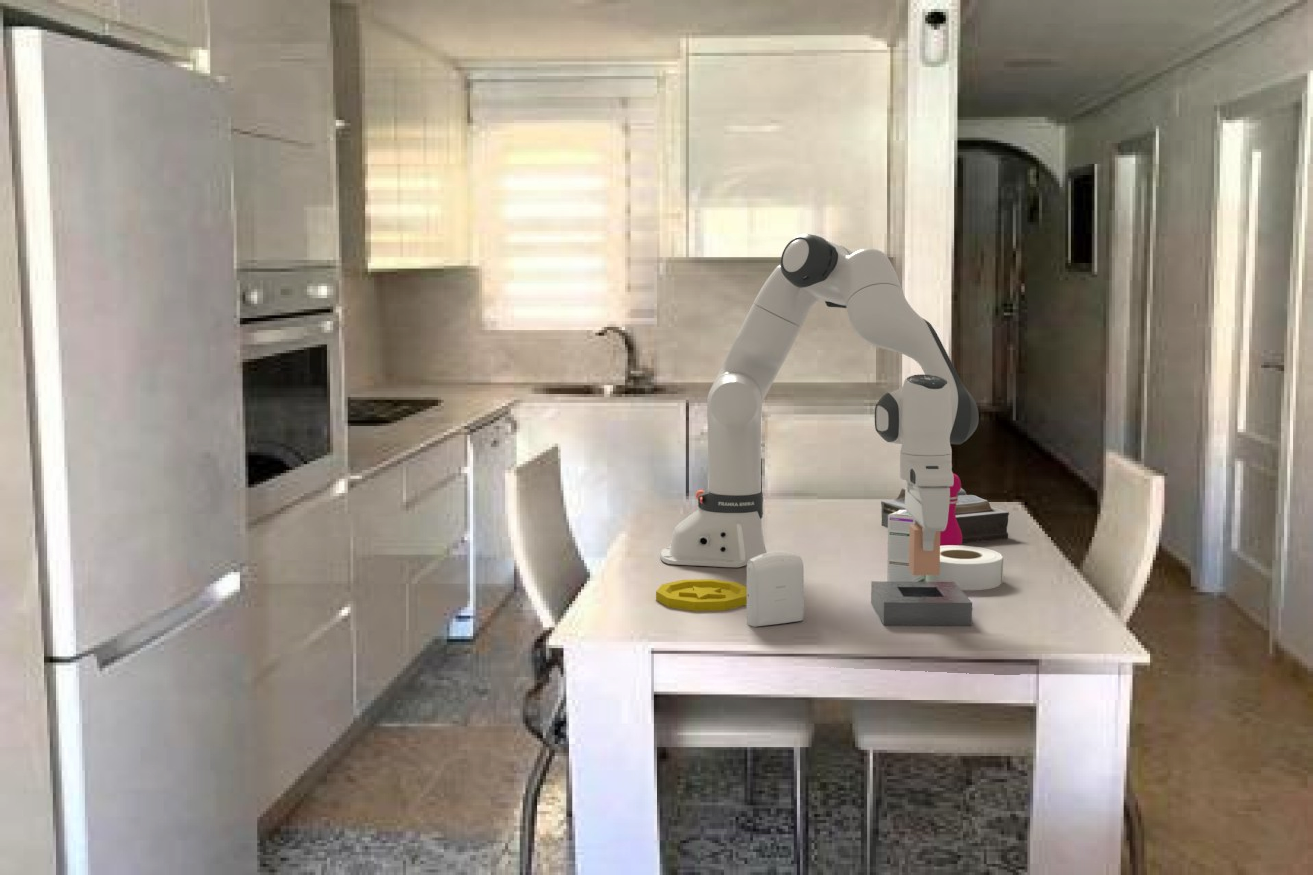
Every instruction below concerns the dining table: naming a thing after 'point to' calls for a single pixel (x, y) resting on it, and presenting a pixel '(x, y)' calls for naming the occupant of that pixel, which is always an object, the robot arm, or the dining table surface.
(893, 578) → the syrup box
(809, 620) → the dining table surface
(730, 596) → the decorative disc
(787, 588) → the photo printer
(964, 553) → the roll of tape
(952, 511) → the pepper mill
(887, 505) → the bible
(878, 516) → the dining table surface
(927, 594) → the square hole block
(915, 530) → the square peg
